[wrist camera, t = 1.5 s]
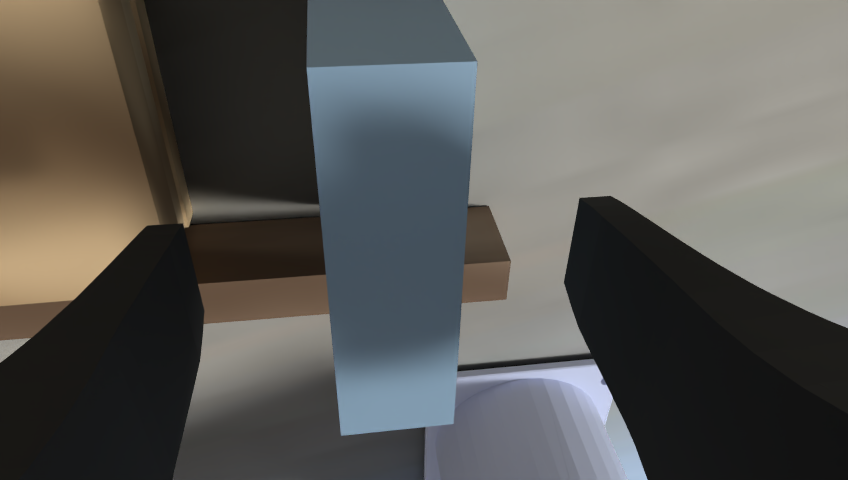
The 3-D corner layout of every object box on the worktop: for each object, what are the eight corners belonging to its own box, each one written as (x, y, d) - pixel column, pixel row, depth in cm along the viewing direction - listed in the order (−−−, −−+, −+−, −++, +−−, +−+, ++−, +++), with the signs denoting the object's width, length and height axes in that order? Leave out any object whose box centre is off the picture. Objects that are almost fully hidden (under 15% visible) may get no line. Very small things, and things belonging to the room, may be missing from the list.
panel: (404, 200, 21) (453, 424, 14) (330, 204, 21) (341, 435, 14) (404, -68, 16) (477, 61, 9) (308, -67, 16) (306, 67, 9)
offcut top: (187, 257, 18) (178, 291, 17) (-40, 275, 18) (-66, 311, 17) (109, -43, 14) (90, -25, 13) (-203, -36, 13) (-255, -16, 12)
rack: (485, 242, 23) (506, 299, 20) (-77, 281, 20) (-129, 350, 18) (520, -154, 16) (558, -140, 13) (-325, -158, 13) (-463, -142, 11)
